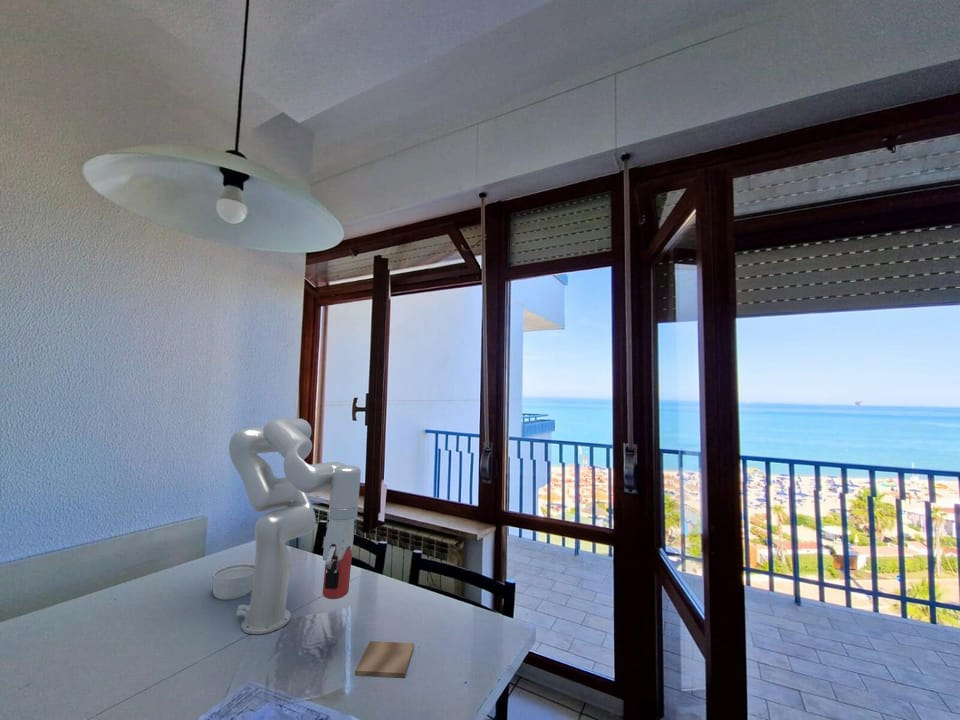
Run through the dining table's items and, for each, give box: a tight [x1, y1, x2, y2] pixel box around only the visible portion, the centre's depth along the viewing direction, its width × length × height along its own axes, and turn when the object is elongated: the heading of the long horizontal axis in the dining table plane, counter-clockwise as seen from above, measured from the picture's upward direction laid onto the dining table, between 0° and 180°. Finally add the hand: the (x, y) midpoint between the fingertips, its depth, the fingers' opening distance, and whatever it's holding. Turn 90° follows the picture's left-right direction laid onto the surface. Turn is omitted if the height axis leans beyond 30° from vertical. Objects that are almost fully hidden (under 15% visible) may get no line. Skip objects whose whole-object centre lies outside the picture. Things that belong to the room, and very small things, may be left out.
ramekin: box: [212, 562, 255, 601], centre depth 129 cm, size 13×13×7 cm
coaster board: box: [354, 640, 415, 679], centre depth 97 cm, size 12×12×1 cm
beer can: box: [322, 546, 353, 600], centre depth 102 cm, size 7×7×12 cm
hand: (336, 581), depth 102 cm, fingers closed on beer can, 6 cm apart
